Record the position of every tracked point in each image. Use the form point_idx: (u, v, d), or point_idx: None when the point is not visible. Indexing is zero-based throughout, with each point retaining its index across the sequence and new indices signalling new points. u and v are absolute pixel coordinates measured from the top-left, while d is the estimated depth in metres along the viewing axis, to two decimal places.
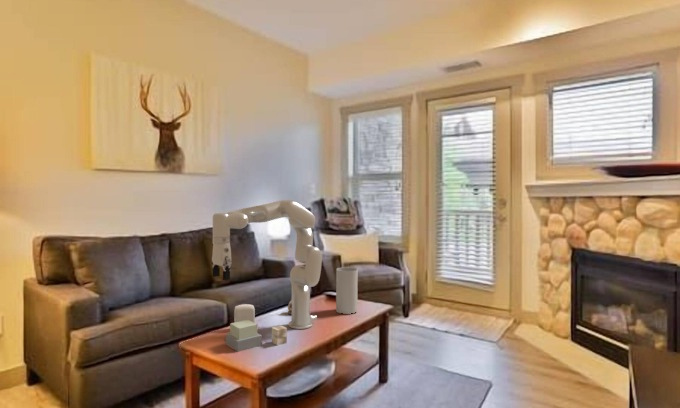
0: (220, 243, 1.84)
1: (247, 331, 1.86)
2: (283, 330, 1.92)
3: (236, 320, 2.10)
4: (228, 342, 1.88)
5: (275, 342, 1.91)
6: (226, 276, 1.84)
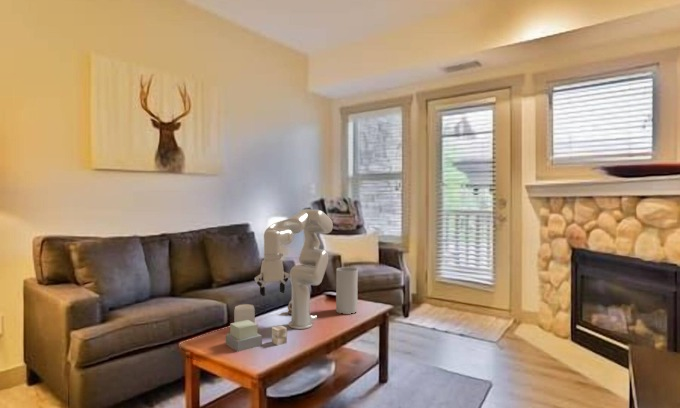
0: (280, 259, 1.92)
1: (247, 331, 1.86)
2: (283, 330, 1.92)
3: (236, 320, 2.10)
4: (228, 342, 1.88)
5: (275, 342, 1.91)
6: None
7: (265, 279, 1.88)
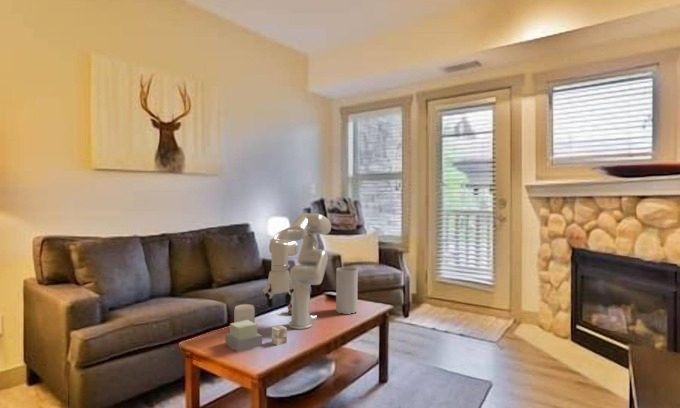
0: (287, 270, 1.93)
1: (247, 331, 1.86)
2: (283, 330, 1.92)
3: (236, 320, 2.10)
4: (228, 342, 1.89)
5: (275, 342, 1.91)
6: None
7: (273, 290, 1.88)
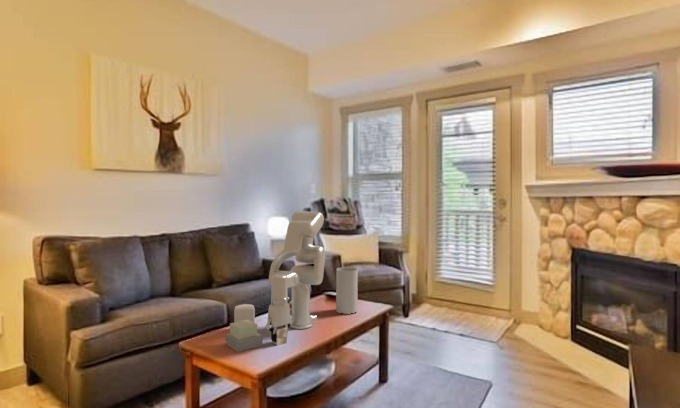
0: (287, 302, 1.93)
1: (246, 331, 1.87)
2: (283, 330, 1.92)
3: (236, 320, 2.10)
4: (229, 342, 1.88)
5: (275, 342, 1.91)
6: None
7: (273, 324, 1.89)
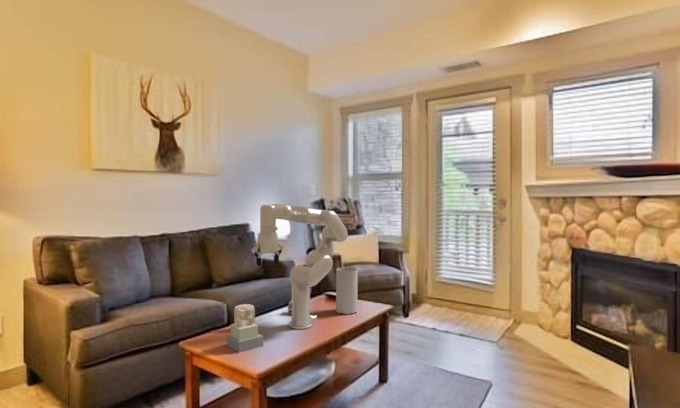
0: (275, 231, 2.04)
1: (247, 332, 1.85)
2: (248, 311, 1.88)
3: (236, 320, 2.10)
4: (230, 343, 1.88)
5: (240, 324, 1.87)
6: None
7: (262, 250, 2.00)
